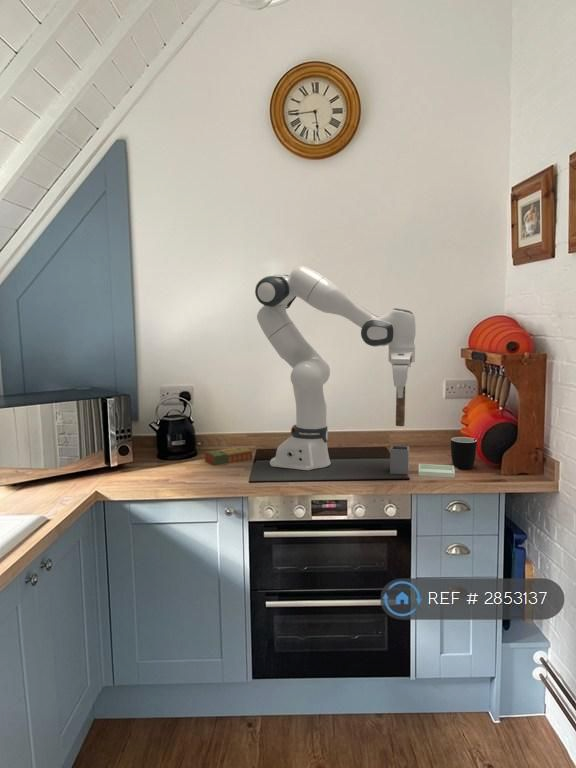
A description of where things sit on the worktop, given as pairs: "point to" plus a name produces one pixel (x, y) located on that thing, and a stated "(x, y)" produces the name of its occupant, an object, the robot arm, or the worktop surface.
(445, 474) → the tray
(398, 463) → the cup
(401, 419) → the dowel
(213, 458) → the carton
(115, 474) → the worktop surface
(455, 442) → the mug
